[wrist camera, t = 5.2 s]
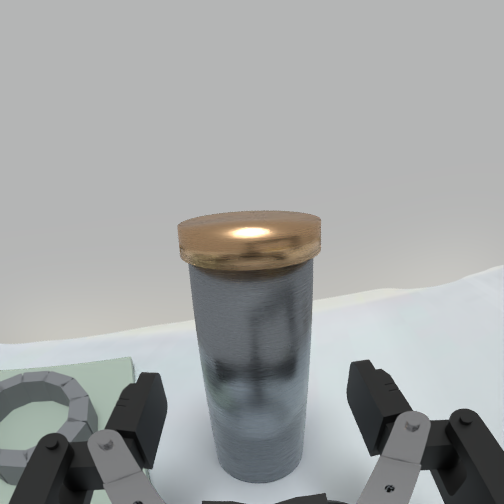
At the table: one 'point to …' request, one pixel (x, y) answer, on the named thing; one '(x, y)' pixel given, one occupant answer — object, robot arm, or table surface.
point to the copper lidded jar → (254, 332)
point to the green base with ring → (55, 411)
